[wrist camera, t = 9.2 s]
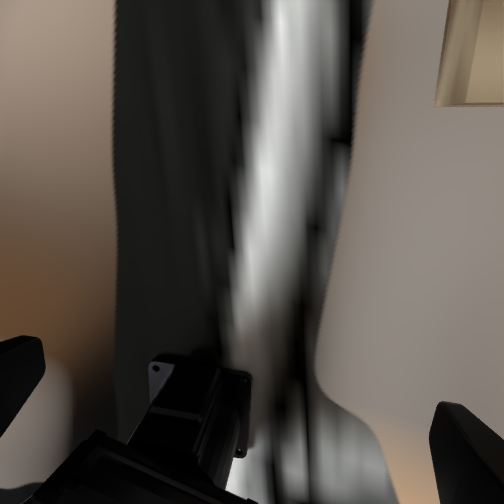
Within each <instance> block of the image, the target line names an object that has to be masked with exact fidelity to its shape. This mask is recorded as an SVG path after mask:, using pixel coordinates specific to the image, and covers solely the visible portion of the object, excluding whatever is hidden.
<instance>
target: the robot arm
mask: <svg viewBox="0 0 504 504" xmlns="http://www.w3.org/2000/svg"><path fill="white" fill-rule="evenodd" d="M155 365H158V366H159V367H160V368H158V367H156V366H155ZM45 368H46V365H45V359H44V351H43V346H42V341H41V340H40V339H39V338H37V337H33V336H27V335H21V336H18V337H14V338H11V339H8V340H5V341H1V342H0V437H1V436H2V435H3V434H4V432H5V431H6V429H7V428H8V427H9V425H10V424H11V422H12V421H13V419H14V418H15V417H16V415H17V414H18V412H19V411H20V409H21V408H22V406H23V405H24V403H25V402H26V401H27V399H28V398H29V396H30V395H31V393H32V392H33V390H34V389H35V387H36V386H37V385H38V383H39V382H40V380H41V378H42V377H43V375H44V373H45ZM241 379H245V380H246V381H247V382H244V381H242V380H241ZM252 384H253V378H252V376H251V374H250V373H248V372H245V371H239V370H233V369H226V368H220V367H214V366H208V365H202V364H195V363H189V362H183V361H176V360H170V359H163V358H154V359H153V360H152V361H151V362H150V364H149V391H150V406H149V408H148V409H147V411H146V413H145V414H144V416H143V418H142V419H141V421H140V423H139V424H138V426H137V428H136V429H135V431H134V433H133V434H132V436H131V438H130V439H129V441H128V443H127V444H124V443H122V442H119V441H117V440H115V439H113V438H111V437H108V436H107V433H105V432H103V431H101V430H98V429H96V431H95V432H94V433H93V434H92V435H91V436H90V437H89V438H88V439H87V440H84V441H83V442H82V443H81V444H80V445H79V446H78V447H77V448H76V449H75V450H74V451H73V452H72V453H71V455H70V456H69V457H68V458H67V459H66V460H65V461H64V462H63V463H62V464H61V465H60V466H59V467H58V468H57V469H56V470H55V472H54V473H53V474H52V475H51V476H50V477H49V478H48V479H47V480H46V481H45V482H44V483H43V484H42V485H41V487H40V488H39V489H38V490H37V491H36V492H35V493H34V494H33V495H32V496H31V497H30V498H28V499H27V500H26V501H25V502H23V503H22V504H258V503H257V502H255V501H253V500H251V499H249V498H248V499H247V500H246V499H244V498H241V497H239V496H237V495H235V494H233V493H230V492H228V491H226V490H225V489H226V485H227V481H228V477H229V473H230V469H231V465H232V461H233V457H235V458H244V457H245V456H246V454H247V450H248V438H249V425H250V411H251V397H252ZM429 445H430V451H431V456H432V461H433V467H434V472H435V478H436V483H437V489H438V494H439V499H440V504H504V440H503V439H502V438H501V437H500V436H499V435H498V434H496V433H495V432H494V431H493V430H492V429H490V428H489V427H488V426H487V425H485V424H484V423H483V422H482V421H481V420H480V419H479V418H477V417H476V416H475V415H474V414H473V413H471V412H470V411H469V410H468V409H467V408H465V407H464V406H463V405H461V404H457V403H450V402H445V401H442V402H439V404H438V405H437V407H436V411H435V414H434V418H433V421H432V425H431V428H430V432H429ZM238 449H240V450H238Z"/></svg>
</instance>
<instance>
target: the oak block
mask: <svg viewBox="0 0 504 504" xmlns="http://www.w3.org/2000/svg"><path fill="white" fill-rule="evenodd" d="M433 107H504V0H449V3H448V9H447V17H446V23H445V30H444V37H443V44H442V51H441V57H440V64H439V70H438V77H437V84H436V91H435V98H434V104H433Z"/></svg>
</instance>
